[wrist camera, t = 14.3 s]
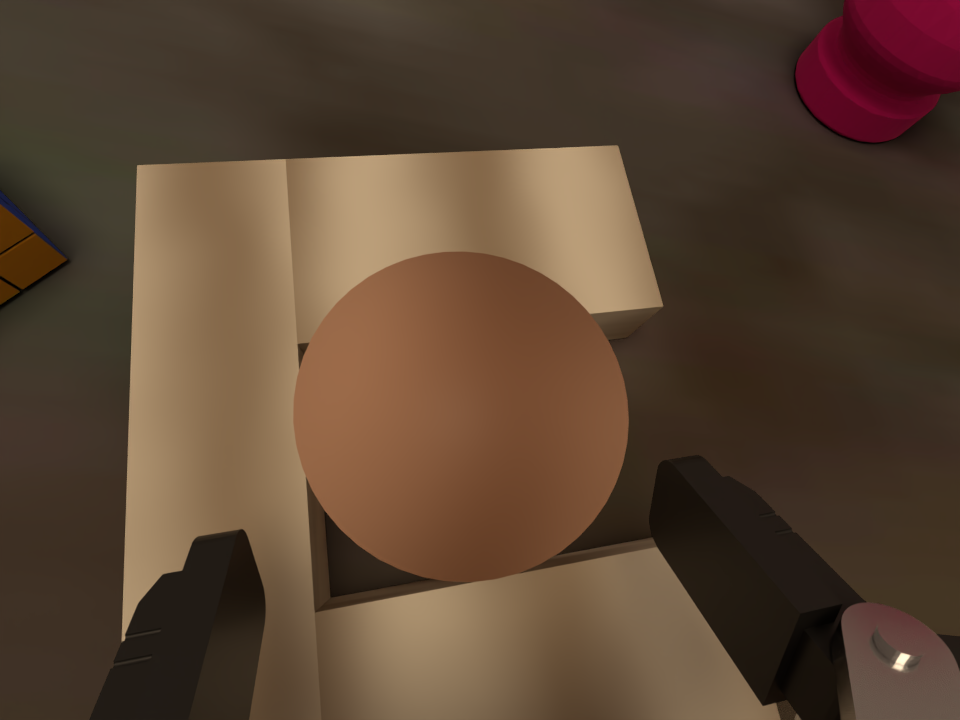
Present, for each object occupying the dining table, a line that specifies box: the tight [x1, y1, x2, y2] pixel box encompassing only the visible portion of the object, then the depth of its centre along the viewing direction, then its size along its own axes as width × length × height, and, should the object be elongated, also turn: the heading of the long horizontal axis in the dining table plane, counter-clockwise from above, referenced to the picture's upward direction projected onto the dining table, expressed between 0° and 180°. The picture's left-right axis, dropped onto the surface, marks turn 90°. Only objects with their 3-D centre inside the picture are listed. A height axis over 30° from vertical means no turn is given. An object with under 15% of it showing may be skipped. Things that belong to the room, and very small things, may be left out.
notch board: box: [122, 145, 780, 720], centre depth 16 cm, size 16×20×3 cm
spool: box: [293, 251, 629, 582], centre depth 13 cm, size 5×5×10 cm
